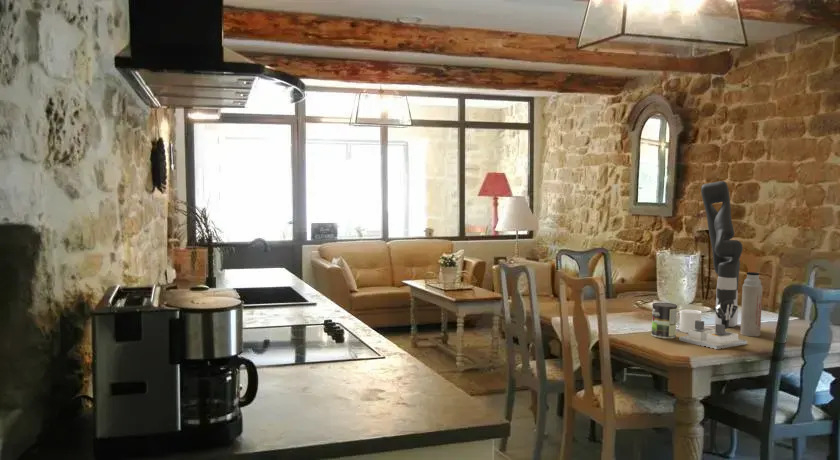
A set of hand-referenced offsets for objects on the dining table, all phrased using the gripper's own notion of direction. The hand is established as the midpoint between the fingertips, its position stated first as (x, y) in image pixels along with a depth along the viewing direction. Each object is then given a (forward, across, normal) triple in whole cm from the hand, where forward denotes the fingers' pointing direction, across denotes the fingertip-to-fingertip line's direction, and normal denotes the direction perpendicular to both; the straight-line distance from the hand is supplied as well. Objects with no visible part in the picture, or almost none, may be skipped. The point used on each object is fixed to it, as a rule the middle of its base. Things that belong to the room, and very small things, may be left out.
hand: (724, 328), depth 280 cm
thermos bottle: (+7, -28, -7) cm, 29 cm away
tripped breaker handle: (+2, +3, 0) cm, 3 cm away
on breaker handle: (+2, +4, -9) cm, 10 cm away
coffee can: (+7, +10, -23) cm, 26 cm away
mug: (+7, -8, -25) cm, 27 cm away
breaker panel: (+7, +1, -5) cm, 8 cm away
